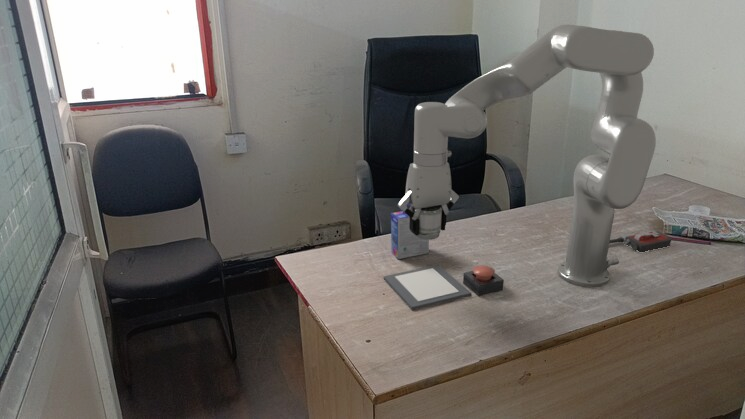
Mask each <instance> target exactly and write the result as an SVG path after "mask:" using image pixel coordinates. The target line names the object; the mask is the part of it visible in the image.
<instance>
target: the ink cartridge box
mask: <svg viewBox="0 0 745 419" xmlns="http://www.w3.org/2000/svg"><path fill="white" fill-rule="evenodd" d="M411 204H412V203H408V204H407V205H406V207H408V206H409V208H408V209H410V206H411ZM409 224H410V217H409V216H408V215H407V214H406V213H405V212H403V210H400V211H397V212H390V229H391V230H390V234H391V235H390V238H391V239H390V240H391V244H390V245H391V246H390V247H391V254H392V255H393V256H394V257H395V258H396V259H397V260H401V259H405V258H411V257H415V256H421V255H425V254H426V255H427V254H429V252H430V251H429V250H430V240H425V239H420V238H418V237H417V236H416V235H415V234H413V233H412V232H411V231H410V228H409Z"/></svg>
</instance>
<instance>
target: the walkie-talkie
mask: <svg viewBox="0 0 745 419" xmlns="http://www.w3.org/2000/svg"><path fill="white" fill-rule="evenodd" d="M622 242H624V243H623V245H624V244H625V245H624V246H626V245H628V246H631V247H632V248H631V249H632V250H633V251H634V250H635V251H636V250H638V251H639V252H645V251H648V250H653V249H658V248H663V247H667V246H670V247H671V242H672V237H671V236H669V235H668V234H664V233H662V232H660V231H657V230H656V231H655V230H652V231H649V232H648V231H642V232H637V233H634V232H633V233H632V232H631V233H627V234H620V235H619V237H617V238H613V239H610V242H609V245H610V244H615V243H622ZM628 246H627V247H628ZM663 249H664V248H663ZM658 250H659V249H658ZM636 252H637V251H636ZM639 252H638V253H639ZM645 253H646V252H645Z"/></svg>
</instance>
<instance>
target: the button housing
mask: <svg viewBox="0 0 745 419" xmlns="http://www.w3.org/2000/svg"><path fill="white" fill-rule="evenodd" d="M462 281H463V282H462V285H465V286H466V287H467V288H468V289H469V291H470V290H471V291H472V292H473V293H474V294H475V295H476V296H477V297H481V296H482V297H483V296H486V295H489V294H495V293H498V292H502V291H503V290H504V283H505V282H504V281H505V280H504V279H503V277H501V276H499V275H498V274H497V273H496V272H495V274H494V275H493V276H492V277H491V280H487V281H483V282H480V281H479V280H478V279H477V278H476V275H475V274H474V273H473V270H470V271H465V272H463V280H462Z"/></svg>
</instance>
